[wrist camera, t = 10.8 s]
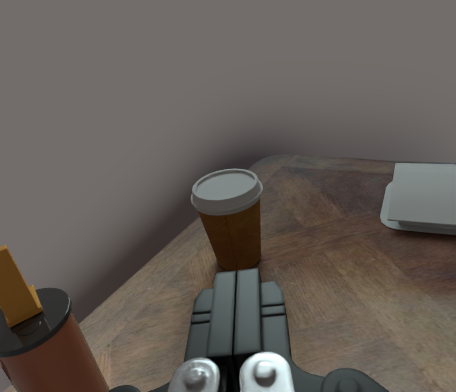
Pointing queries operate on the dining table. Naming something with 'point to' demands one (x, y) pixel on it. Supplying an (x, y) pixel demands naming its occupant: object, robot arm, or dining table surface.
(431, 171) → the book
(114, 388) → the robot arm
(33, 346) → the tumbler
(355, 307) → the dining table surface
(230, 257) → the disposable coffee cup
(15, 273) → the slider
